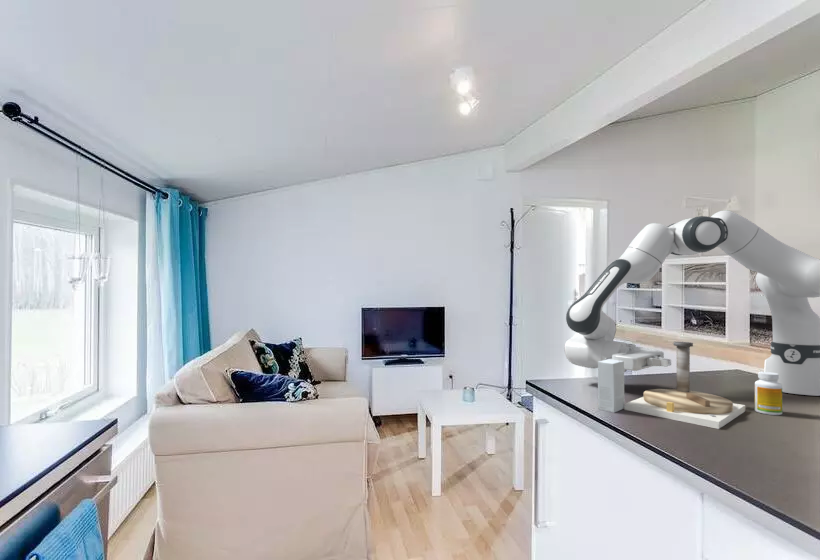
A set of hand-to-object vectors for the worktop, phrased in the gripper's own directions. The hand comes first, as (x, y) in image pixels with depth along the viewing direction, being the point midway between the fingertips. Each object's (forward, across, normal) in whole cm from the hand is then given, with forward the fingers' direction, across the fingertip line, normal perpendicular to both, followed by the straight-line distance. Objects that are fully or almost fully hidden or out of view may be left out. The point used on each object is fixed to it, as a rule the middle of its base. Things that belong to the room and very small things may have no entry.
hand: (669, 363), depth 124 cm
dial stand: (+7, -9, +10) cm, 15 cm away
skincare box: (-6, -22, +10) cm, 25 cm away
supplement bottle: (+20, +5, +10) cm, 24 cm away
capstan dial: (+7, -8, +8) cm, 13 cm away
